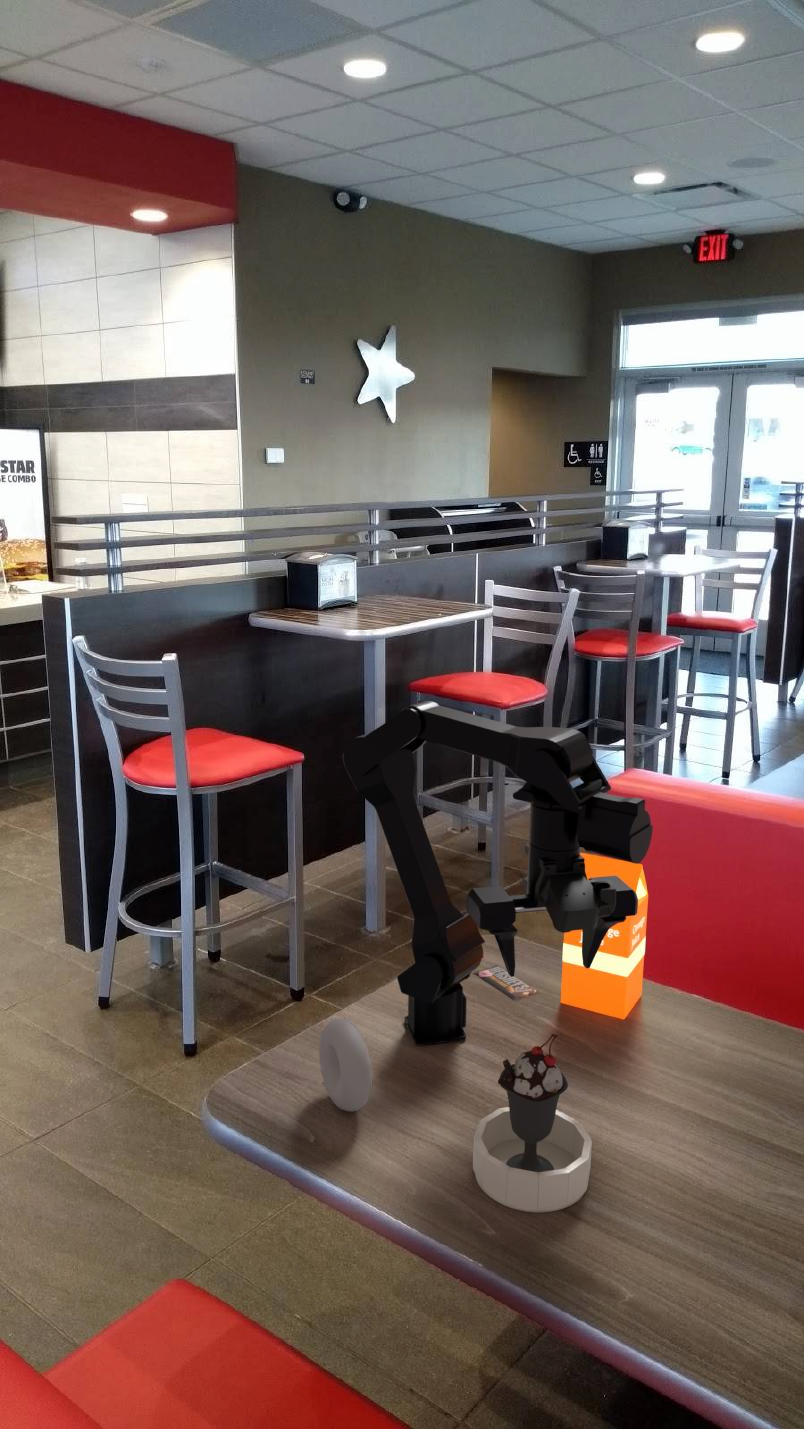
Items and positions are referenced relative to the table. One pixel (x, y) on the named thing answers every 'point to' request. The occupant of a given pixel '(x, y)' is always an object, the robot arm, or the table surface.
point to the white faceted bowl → (529, 1188)
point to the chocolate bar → (505, 983)
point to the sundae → (532, 1102)
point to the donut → (345, 1064)
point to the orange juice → (609, 950)
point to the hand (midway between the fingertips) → (548, 971)
